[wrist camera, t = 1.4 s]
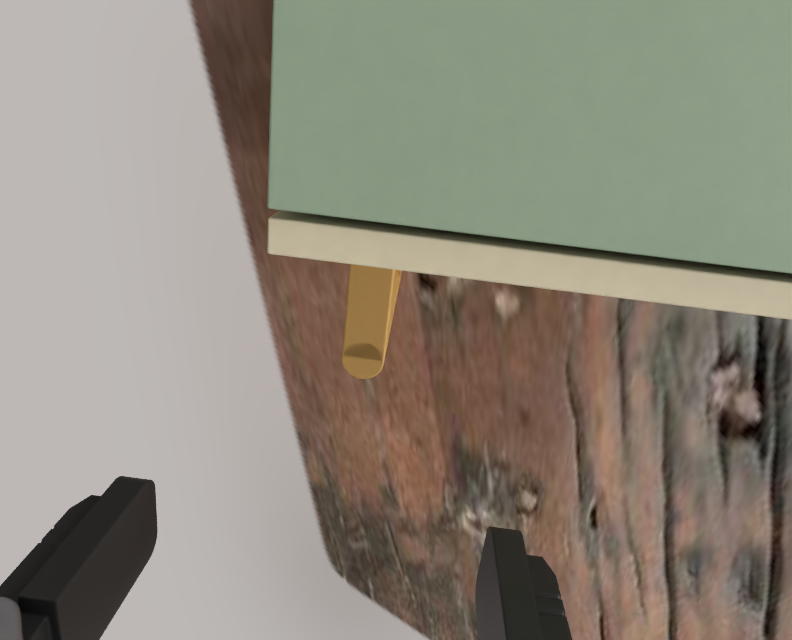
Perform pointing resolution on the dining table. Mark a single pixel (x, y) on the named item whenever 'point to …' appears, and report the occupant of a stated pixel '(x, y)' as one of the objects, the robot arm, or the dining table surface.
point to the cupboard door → (502, 273)
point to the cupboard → (542, 121)
